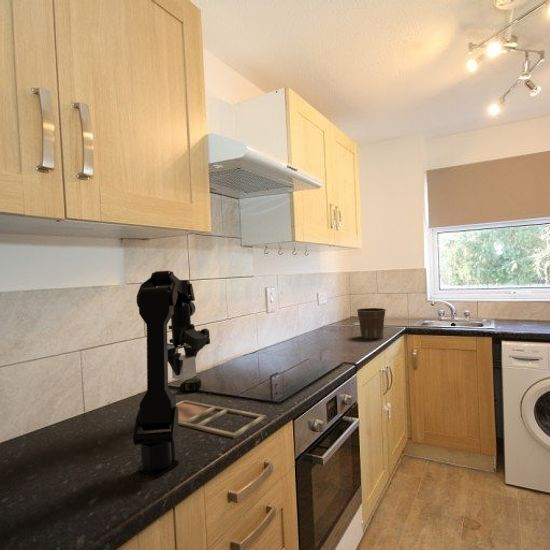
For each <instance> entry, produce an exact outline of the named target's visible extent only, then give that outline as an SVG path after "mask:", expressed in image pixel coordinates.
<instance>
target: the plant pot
mask: <svg viewBox="0 0 550 550" xmlns="http://www.w3.org/2000/svg"><path fill="white" fill-rule="evenodd" d="M356 311H357V317H358V321H359V322H358V323H359V328H360V338H362V339H365V340H375V339H377V340H379V339H383V338H384V329H385V328H384V327H385V316H386V311H387V310H386V308H379V307H367V308H357V309H356Z"/></svg>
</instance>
